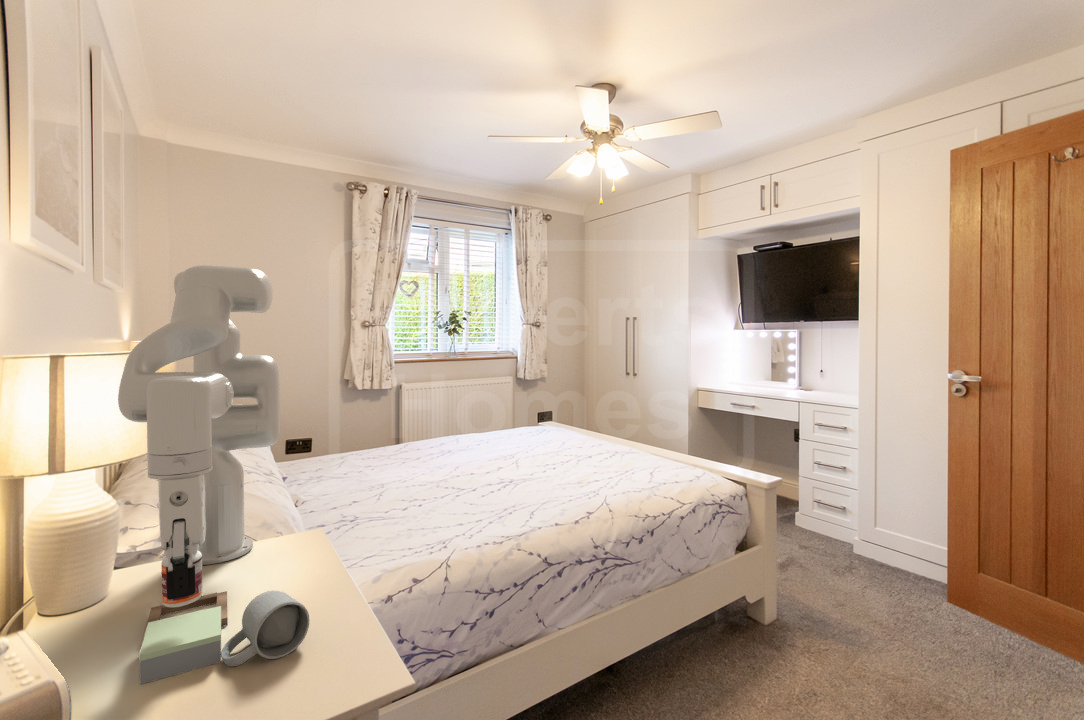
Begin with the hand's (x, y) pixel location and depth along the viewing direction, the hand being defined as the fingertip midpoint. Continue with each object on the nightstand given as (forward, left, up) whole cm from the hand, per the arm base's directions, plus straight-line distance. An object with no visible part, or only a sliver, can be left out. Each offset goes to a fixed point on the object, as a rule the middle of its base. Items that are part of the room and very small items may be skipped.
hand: (182, 586), depth 73 cm
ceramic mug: (+4, +10, -10) cm, 15 cm away
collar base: (-11, 0, -10) cm, 15 cm away
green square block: (0, 0, -10) cm, 10 cm away
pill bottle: (0, 0, -2) cm, 2 cm away
